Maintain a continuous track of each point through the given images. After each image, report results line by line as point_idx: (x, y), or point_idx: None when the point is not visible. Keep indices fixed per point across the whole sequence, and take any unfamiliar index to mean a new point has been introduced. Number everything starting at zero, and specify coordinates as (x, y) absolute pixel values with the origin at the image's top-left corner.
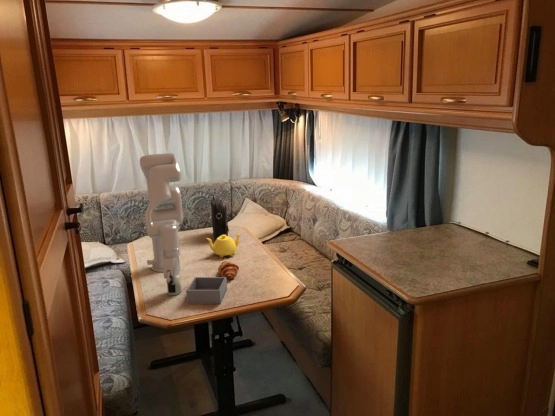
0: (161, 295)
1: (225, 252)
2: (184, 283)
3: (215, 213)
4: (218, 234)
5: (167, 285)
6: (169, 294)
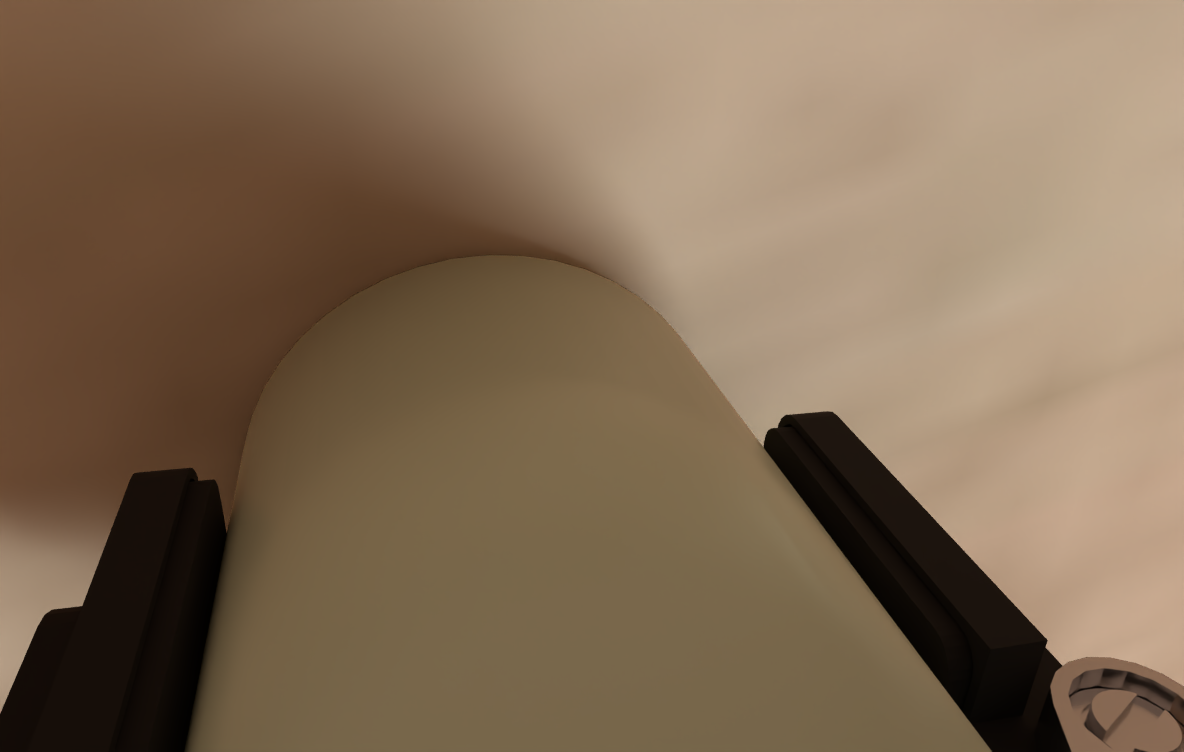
0: (201, 38)
1: None
2: (1130, 480)
3: None
4: None
5: (311, 536)
6: (267, 384)
